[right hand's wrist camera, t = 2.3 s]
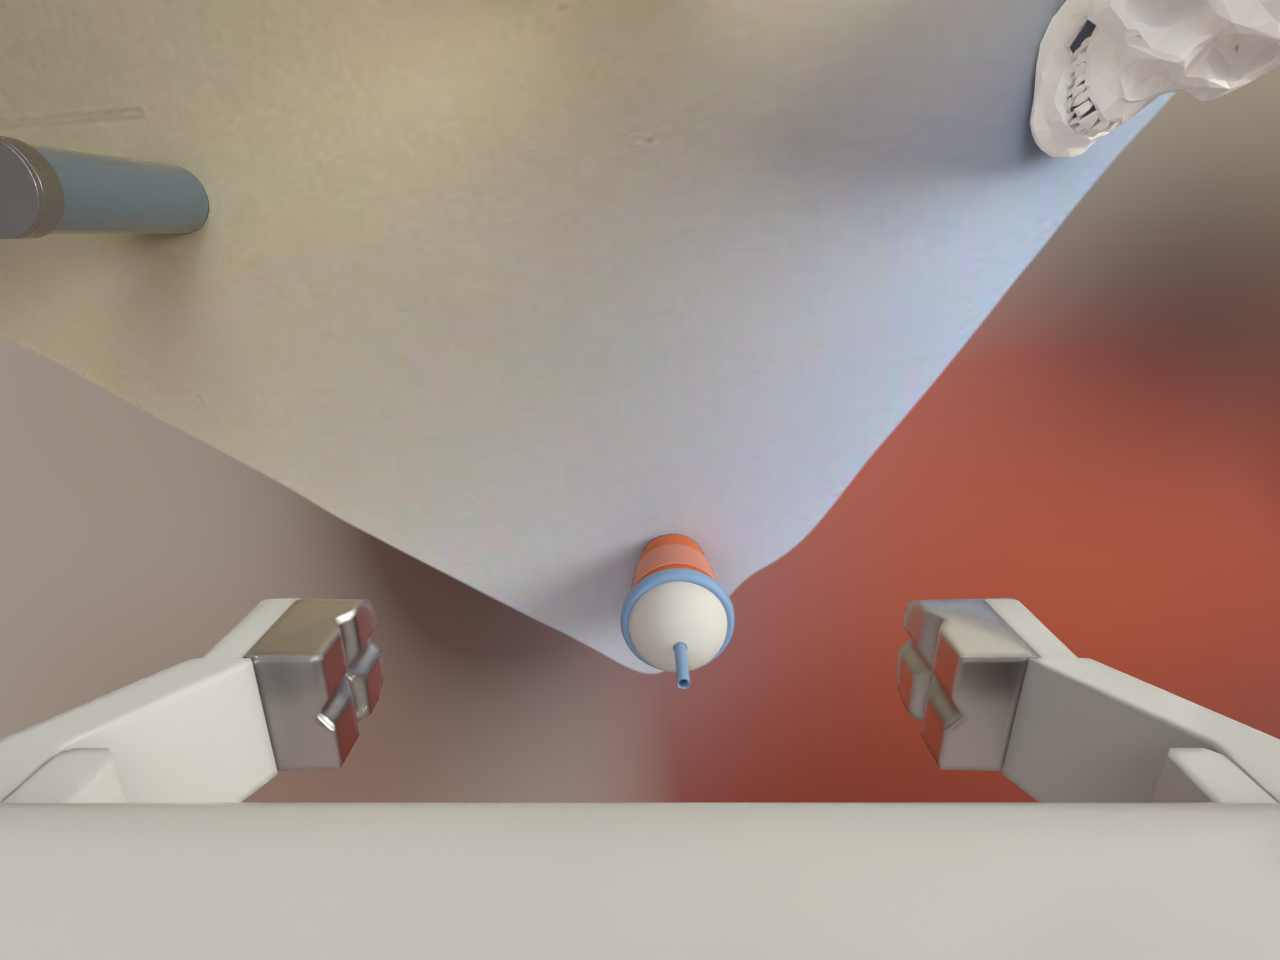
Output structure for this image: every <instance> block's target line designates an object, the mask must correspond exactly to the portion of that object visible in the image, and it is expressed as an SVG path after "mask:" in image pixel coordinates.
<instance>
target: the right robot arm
mask: <svg viewBox="0 0 1280 960" xmlns="http://www.w3.org/2000/svg"><path fill="white" fill-rule="evenodd" d="M376 627H377V622H376V617H375V612H374V607H373V605H372V604H371V603H370V602H369V601H368V600H346V599H300V598H280V599H266V600H262V601H261V602H260V603H259V604H258V605H257V606H256V607H255V608H254V609H253V610H252V611H251V612H250V613H249V614H248V615H246V616H245V617H244V618H243V619H242V620H241V621H240V622H239V623H238V624H237V625H236V626H235V627H234V628H233V629H232V630H231V631H230V632H229V633H228V634H227V635H226V636H225V637H224V638H223V639H222V640H220V641H219V642H218V643H217V644H216V645H215V646H214V647H213V648H212V649H211V650H210V651H209V652H208V653H207V654H206V655H205V656H204V657H203V658H190V659H188V660H186V661H183V662H181V663H179V664H176V665H174V666H172V667H169V668H167V669H165V670H162V671H160V672H158V673H155V674H153V675H151V676H148V677H146V678H143V679H141V680H139V681H136V682H134V683H132V684H129V685H127V686H125V687H122V688H120V689H118V690H115V691H113V692H111V693H108V694H106V695H104V696H101V697H99V698H97V699H94V700H92V701H89V702H87V703H85V704H82V705H80V706H78V707H75V708H73V709H71V710H68V711H66V712H64V713H61V714H59V715H57V716H54V717H52V718H49V719H47V720H45V721H42V722H40V723H38V724H35V725H33V726H31V727H28V728H26V729H24V730H21V731H19V732H17V733H14V734H12V735H10V736H7V737H5V738H2V739H0V960H1280V740H1279V739H1277V738H1275V737H1272V736H1270V735H1268V734H1265V733H1263V732H1261V731H1258V730H1256V729H1254V728H1251V727H1249V726H1247V725H1244V724H1242V723H1240V722H1237V721H1235V720H1232V719H1230V718H1228V717H1225V716H1223V715H1221V714H1218V713H1216V712H1214V711H1211V710H1209V709H1207V708H1204V707H1202V706H1200V705H1197V704H1195V703H1193V702H1190V701H1188V700H1186V699H1183V698H1181V697H1179V696H1176V695H1174V694H1172V693H1169V692H1167V691H1164V690H1162V689H1160V688H1158V687H1155V686H1153V685H1150V684H1148V683H1146V682H1143V681H1141V680H1139V679H1136V678H1134V677H1132V676H1129V675H1127V674H1125V673H1122V672H1120V671H1118V670H1115V669H1113V668H1111V667H1108V666H1106V665H1104V664H1101V663H1099V662H1097V661H1094V660H1092V659H1089V658H1077V657H1076V656H1075V655H1074V654H1073V653H1072V652H1071V651H1070V650H1069V649H1068V648H1067V647H1066V646H1065V645H1064V644H1063V643H1062V642H1061V641H1060V640H1059V639H1058V638H1057V637H1055V636H1054V635H1053V634H1052V633H1051V632H1050V631H1049V630H1048V629H1047V628H1046V627H1045V626H1044V625H1043V624H1042V623H1041V622H1040V621H1039V620H1038V619H1037V618H1036V617H1035V616H1034V615H1033V614H1032V613H1031V612H1030V611H1028V610H1027V609H1026V608H1025V607H1024V606H1023V605H1022V604H1021V603H1020V602H1019V601H1018V600H1015V599H1012V598H995V599H953V600H917V601H910V602H909V604H908V606H907V609H906V611H905V616H904V622H903V627H904V628H905V630H906V631H907V633H908V634H909V636H910V638H911V639H910V640H909V641H908V642H907V643H906V644H905V645H904V646H903V647H902V648H901V649H900V651H899V654H898V663H897V680H898V689H899V692H900V696H901V699H902V702H903V704H904V706H905V707H906V709H907V711H908V713H909V714H910V715H912V716H913V717H915V718H916V719H918V720H919V721H921V722H923V724H922V731H921V736H922V738H923V740H924V742H925V743H926V745H927V747H928V749H929V750H930V752H931V754H932V756H933V758H934V759H935V761H936V763H937V765H938V766H939V768H940V769H956V770H993V771H1002V774H1003V775H1004V776H1006V777H1007V778H1009V779H1010V780H1011V781H1012V782H1014V783H1015V784H1016V785H1017V786H1019V787H1020V788H1021V789H1023V790H1024V791H1025V792H1027V793H1028V794H1029V795H1031V796H1032V797H1033V798H1034V799H1036V800H1037V801H1038V802H1040V803H241V802H242V801H243V800H244V799H246V798H247V797H248V796H250V795H251V794H252V793H254V792H255V791H256V790H258V789H259V788H260V787H261V786H263V785H264V784H265V783H267V782H268V781H269V780H270V779H272V778H273V777H274V776H276V775H277V774H278V771H287V770H322V769H340V768H341V766H342V765H343V763H344V761H345V759H346V758H347V756H348V754H349V752H350V751H351V749H352V747H353V745H354V743H355V742H356V740H357V738H358V736H359V730H358V724H357V722H359V721H360V720H362V719H364V718H365V717H367V716H368V715H370V714H371V713H372V711H373V709H374V707H375V705H376V704H377V702H378V700H379V695H380V691H381V687H382V683H383V661H382V654H381V651H380V649H379V648H378V647H377V646H376V645H375V644H374V643H373V642H372V641H371V640H370V639H369V638H370V636H371V634H372V633H373V631H374V630H375V628H376Z"/></svg>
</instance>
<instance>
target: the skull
mask: <svg viewBox="0 0 1280 960" xmlns="http://www.w3.org/2000/svg"><path fill="white" fill-rule="evenodd" d="M1087 19H1088V20H1089V21H1091V22H1092V23H1094V24H1095V25H1096V28H1095V30H1094V31H1093V33H1092V35H1091V36H1090V37H1088V38H1086V39H1085V40H1084V41H1083V42H1082V44H1081V46H1080V47H1079V48H1078V49H1077V50H1075V52H1074V54H1073V53H1072V51H1071V49H1070V47H1071V45H1072V44H1073V42H1074V40H1075V39H1076V37H1077V36H1078V34H1079V33H1080V31H1081V29H1082V28H1083V26H1084V24H1085V23H1086V21H1087ZM1084 51H1085V52H1084ZM1279 64H1280V0H1066V2H1065V3H1064V4H1063V5H1062V7H1061V8H1060V9H1059V11H1058V12H1057V13H1056V14H1055V16H1054V17H1053V18H1052V20H1051V22H1050V24H1049V26H1048V27H1047V30H1046V32H1045V34H1044V37H1043V39H1042V41H1041V44H1040V48H1039V53H1038V58H1037V64H1036V78H1035V92H1034V100H1033V106H1032V112H1031V118H1030V126H1031V131H1032V135H1033V138H1034V140H1035V142H1036V144H1037V145H1038V147H1039V148H1040V149H1041V150H1042V151H1044V152H1045V153H1047V154H1048V155H1050V156H1052V157H1073V156H1078V155H1080V154H1082V153H1083V152H1085V151H1086V150H1087V149H1088V148H1089V147H1090V146H1091V145H1092V144H1093V143H1094V142H1095V140H1097V139H1099V138H1101V137H1103V136H1105V135H1107V134H1108V133H1109V132H1111V131H1112V130H1113V129H1115V128H1117V127H1119V126H1121V125H1122V124H1124V123H1125V122H1126V121H1127V120H1130V119H1131V118H1132V117H1133V116H1134V115H1136V114H1137V113H1138V112H1139V111H1140V110H1142V109H1143V108H1144V107H1145V106H1146V105H1148V104H1149V103H1150V102H1152V101H1153V100H1154V99H1155V98H1157V97H1158V96H1159V95H1162V94H1164V93H1168V92H1174V91H1180V90H1183V91H1185V92H1187V93H1190V94H1192V95H1194V96H1195V97H1197V98H1198V99H1200V100H1201V101H1203V102H1204V101H1208V100H1213V99H1215V98H1218V97H1220V96H1223V95H1225V94H1227V93H1230V92H1232V91H1235V90H1236V89H1238V88H1240V87H1242V86H1244V85H1246V84H1248V83H1250V82H1252V81H1253V80H1255V79H1256V78H1258V77H1260V76H1261V75H1263V74H1264V73H1266V72H1268V71H1269V70H1271V69H1272V68H1274V67H1276V66H1277V65H1279ZM1074 72H1075V74H1074V75H1073V73H1074ZM1084 79H1085V83H1084V84H1082V85H1080V84H1081V83H1082V81H1083V80H1084ZM1079 85H1080V86H1079ZM1077 86H1078V87H1077ZM1085 89H1087V90H1086V91H1084V90H1085ZM1083 91H1084V92H1083ZM1072 94H1073V95H1072ZM1070 95H1072V97H1070ZM1088 98H1090V99H1091V101H1086V100H1088ZM1084 101H1086V102H1085V103H1083V102H1084ZM1081 103H1083V104H1082V105H1080V106H1078V107H1077V108H1075V109H1074V111H1072V112H1071V108H1072V106H1077V105H1079V104H1081ZM1093 104H1094V105H1095V108H1096V110H1095V111H1093V112H1092V113H1090V114H1089V115H1087V116H1086V117H1084V118H1082V116H1083V115H1084V114H1085V113H1086V112H1087V111H1088V110H1089V109H1090V108H1091V107H1092V105H1093ZM1075 113H1076V115H1077V117H1076V118H1074V119H1073V118H1072V116H1073V115H1074V114H1075ZM1098 119H1100V120H1099V121H1098V122H1096V121H1097V120H1098ZM1095 122H1096V123H1095ZM1076 123H1079V125H1077V124H1076Z"/></svg>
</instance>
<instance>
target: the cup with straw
mask: <svg viewBox="0 0 1280 960" xmlns="http://www.w3.org/2000/svg"><path fill="white" fill-rule="evenodd" d="M734 622H735V616H734V609H733V606H732V603H731V600H730V598H729V596H728V594H727V593H726V591H725V590H724V589H723V587H722V586H721V585H720V584H719V583H718V582H717V580H716V577H715V575H714V573H713V570H712V568H711V566H710V564H709V562H708V560H707V559H706V558H705V557H704V554H703V552H702V550H701V549H700V547H699V546H698V545H697V544H696V543H695V542H694V541H693V540H691V539H689V538H687V537H685V536H682V535H677V534H669V535H663V536H660V537H658V538H656V539H654V540H652V541H651V542H650V543H649V544H648V545H647V546H646V547H645V548H644V550H643V552H642V554H641V556H640V560H639V563H638V565H637V567H636V570H635V574H634V578H633V583H632V588H631V591H630V593H629V594H628V596H627V597H626V599H625V602H624V604H623V607H622V612H621V629H622V633H623V637H624V639H625V641H626V643H627V645H628V647H629V648H630V650H631V651H632V652H633V653H634V654H635V655H636V656H637V657H638V658H639V659H640V660H642V661H643V662H645V663H646V664H648V665H650V666H652V667H655V668H657V669H661V670H665V671H669V672H676V675H677V685H678V687H679V688H681V689H686V688H688V687H689V686H690V679H689V671H691V670H695V669H697V668H699V667H702V666H704V665H706V664H708V663H710V662H711V661H713V660H714V659H715V658H716V657H718V656H719V655H720V654H721V653H722V652H723V650H724V649H725V648H726V646H727V645H728V643H729V641H730V639H731V636H732V633H733V630H734Z"/></svg>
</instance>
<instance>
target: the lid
mask: <svg viewBox="0 0 1280 960" xmlns="http://www.w3.org/2000/svg"><path fill="white" fill-rule="evenodd" d="M64 205H65V200H64V193H63V188H62V185H61V182H60V180H59V178H58V176H57V174H56V172H55V170H54V169H53V167H52V166H51V165H50V163H49V162H48V161H47V160H46V159H45V157H43V156H42V155H41V154H40V153H39V152H38V151H37V150H35V149H34V148H33V147H31V146H29V145H28V144H26V143H24V142H22V141H20V140H17V139H14V138H10V137H4V136H0V238H1V239H26V238H38V237H42V236H45V235H47V234H49V233H50V232H52V231H53V230H54V229H55V228H56V227H57V226H58V224H59V223H60V221H61V219H62V216H63V213H64Z"/></svg>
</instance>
